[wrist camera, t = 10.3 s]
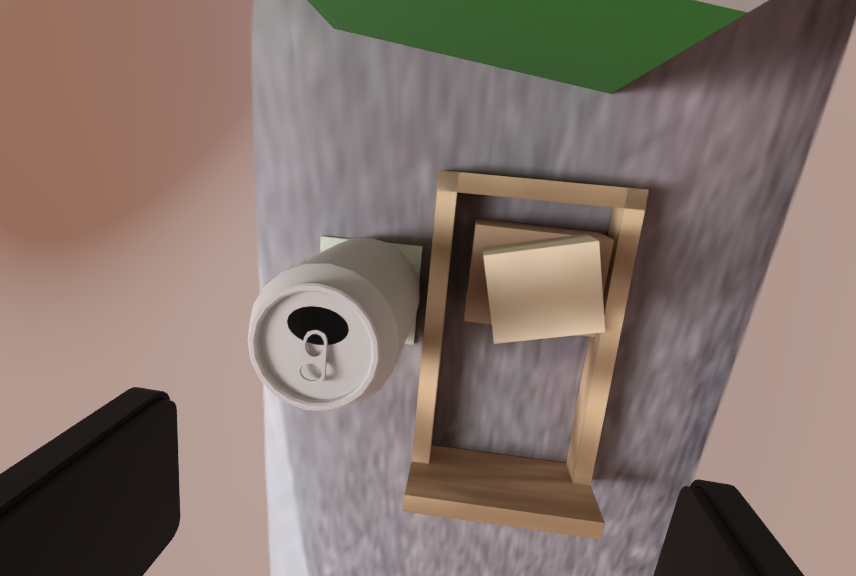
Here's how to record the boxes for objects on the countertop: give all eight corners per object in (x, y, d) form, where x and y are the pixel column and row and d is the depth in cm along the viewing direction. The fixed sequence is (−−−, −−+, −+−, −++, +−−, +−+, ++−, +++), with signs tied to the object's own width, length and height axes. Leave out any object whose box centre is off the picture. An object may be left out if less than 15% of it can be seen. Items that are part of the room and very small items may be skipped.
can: (428, 243, 32) (402, 283, 20) (414, 347, 34) (384, 438, 22) (319, 228, 32) (233, 258, 21) (312, 331, 34) (229, 412, 23)
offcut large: (475, 218, 32) (476, 224, 28) (596, 231, 31) (614, 239, 27) (465, 303, 33) (463, 321, 29) (580, 318, 33) (595, 337, 29)
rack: (441, 170, 31) (434, 169, 25) (635, 188, 30) (674, 191, 24) (414, 456, 36) (403, 511, 30) (580, 479, 35) (600, 539, 29)
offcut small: (482, 247, 28) (483, 255, 25) (586, 233, 28) (599, 240, 25) (492, 326, 29) (494, 343, 26) (592, 316, 29) (605, 332, 26)
